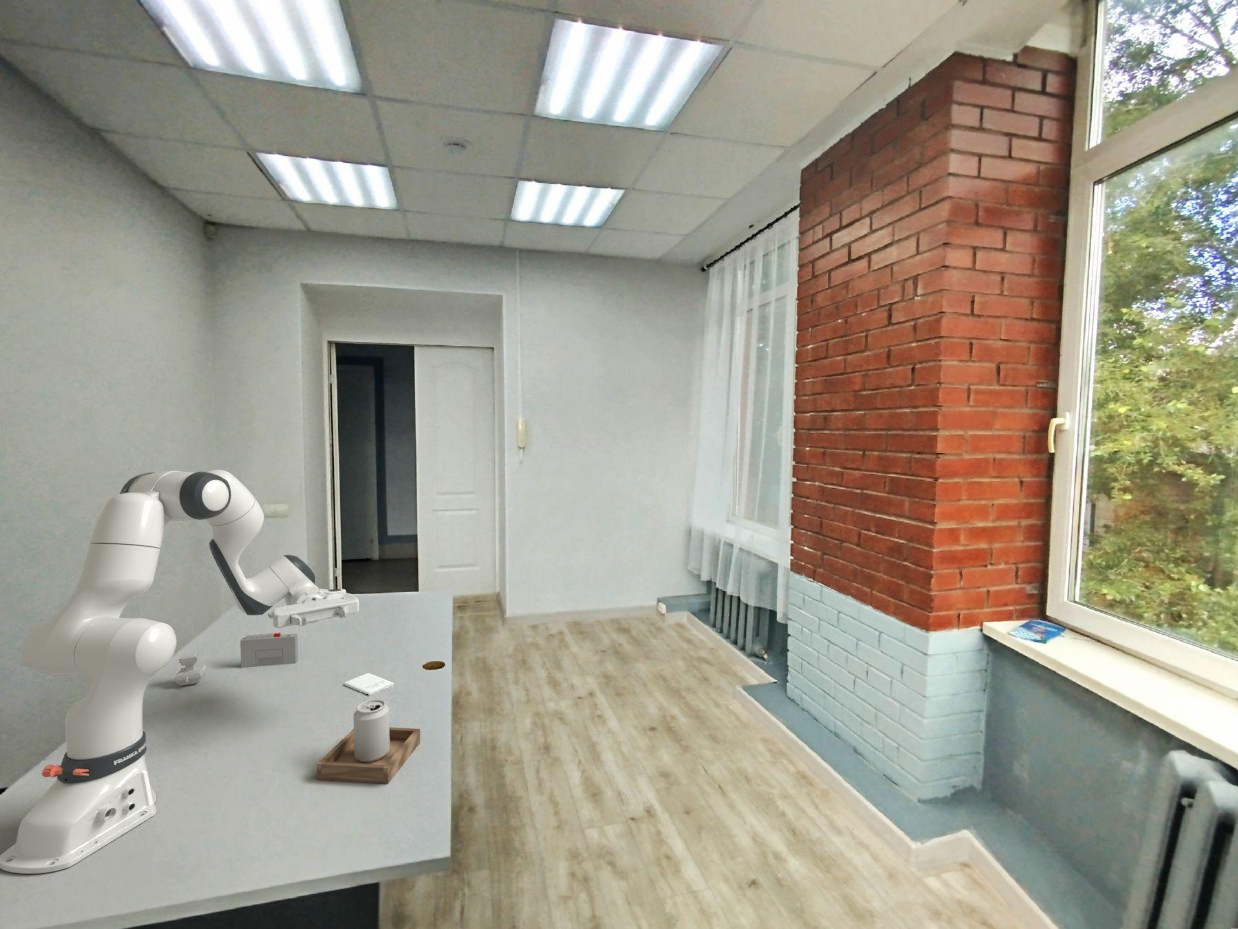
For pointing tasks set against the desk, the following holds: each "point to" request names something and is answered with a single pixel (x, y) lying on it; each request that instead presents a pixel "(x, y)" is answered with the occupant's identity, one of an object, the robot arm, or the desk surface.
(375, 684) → the external hard drive
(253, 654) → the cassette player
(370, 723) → the can
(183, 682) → the stamp
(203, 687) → the desk surface
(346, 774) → the tray
